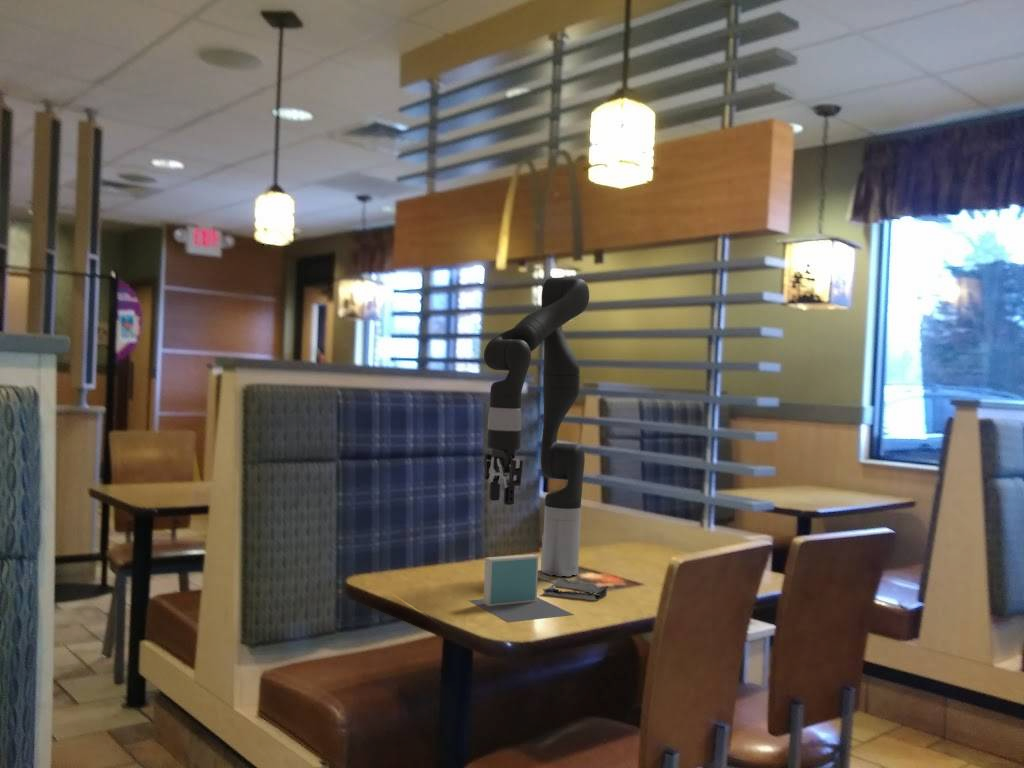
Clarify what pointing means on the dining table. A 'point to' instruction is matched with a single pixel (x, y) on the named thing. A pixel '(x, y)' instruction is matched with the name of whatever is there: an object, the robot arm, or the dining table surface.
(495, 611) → the rubber mat
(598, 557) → the dining table surface
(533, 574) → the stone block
